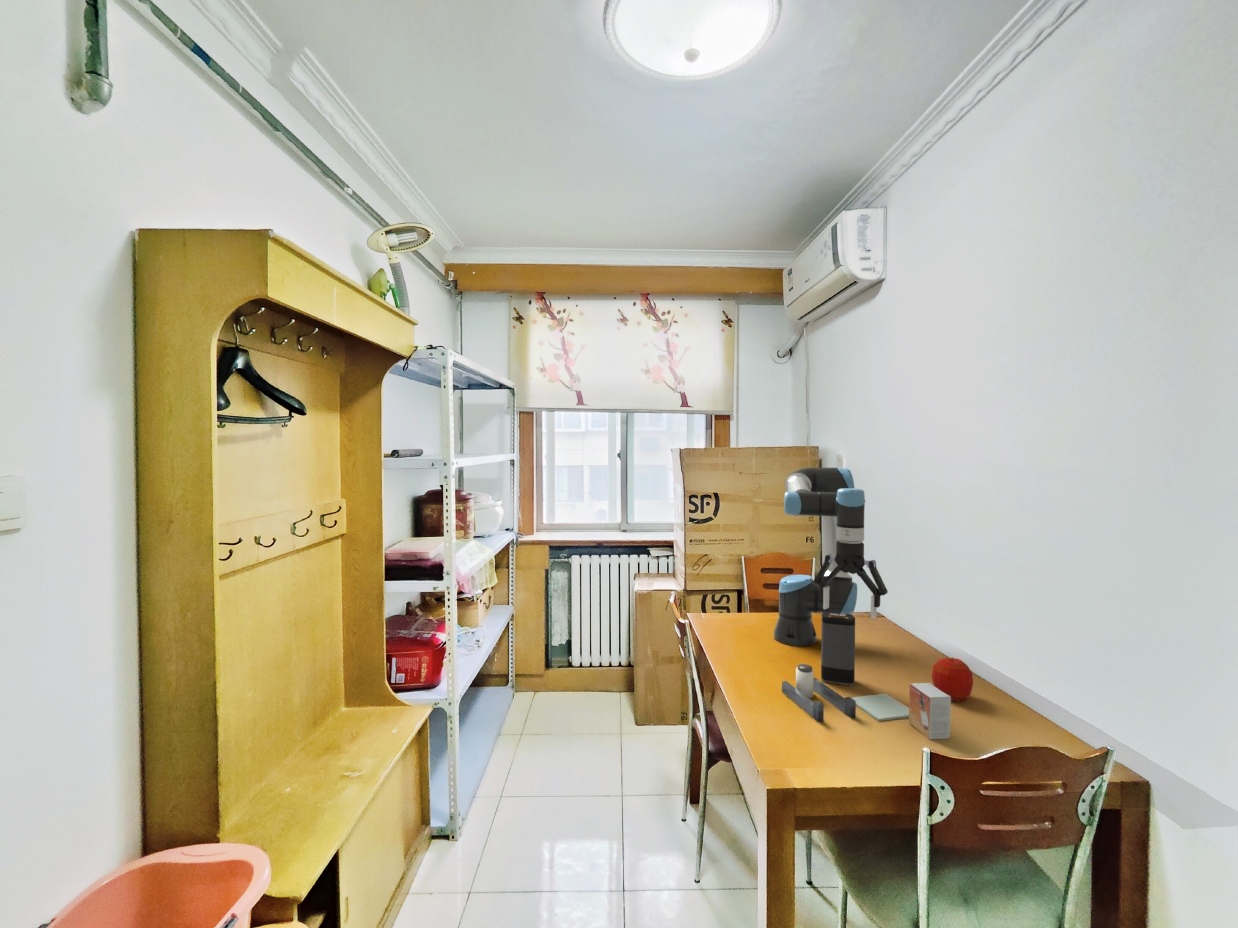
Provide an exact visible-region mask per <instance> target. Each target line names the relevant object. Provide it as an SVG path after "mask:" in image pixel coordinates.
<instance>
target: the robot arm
mask: <svg viewBox="0 0 1238 928" xmlns="http://www.w3.org/2000/svg"><path fill="white" fill-rule="evenodd" d="M784 490H785V493H784V494H783V495H784V496H783V512H784V514H785V515H787V516H796V517H797V516H806V517H807V516H811V517H812V516H813V517H821V549H822V550H821V553H822V556H821V558H822V560H821V561H822V562H821V564H822V566H821V567H820V570H819V571H818V573H817V575H816V577H815V578H814V579H813V576H811V575H808V574H791V575H786V576H784V577H782V578H781V579H780V580H779V586H778V587H779V588H778V594H779V596H778V597H779V598H778V619H777V621H776V624H775V627H774V630H773V638H774V639H775V640H776V641H777V642H779V643H783V644H786V645H790V646H797V647H807V646H812V645H815V644H816V643H817V642H818V635H817V631H816V629H815V624H814V622H813V613H814V614H822V613H823V612H830V615H839V616H845V614H851V615H853V614H854V611H855V610H856V605H857V599H858V584H857V582H855V581H853V577H852V575H855V574H856V575H857V576H858V577H860V579H861V580H862V581H863V583H864V584H865V585H866V587H867V588H868V589H869V591H870V592H871V593H872V594H871V595H870V619H871V620H874V619H876V618H877V613H878V612H877V611H878V610H877V608H880V606H881V596H885V595H887V594H888V592H889V590H888V589H887V588H886V587H887V586H886V584H885V583H884V581H883V579H882V576H881V575H880V572H879V571H878V569H877V563H876V562H877V561H876V560H875V559H872V560H866V559H865V544H864V541H865V508H866V507H865V503H866V497H865V496H866V495H865V491H864V490H863V489H860V488H855V482H854V477H853V474H852V472H851V470H850V469H849V468H844V467H837V466H836V467H804V468H799V469H797V470H795V471H793V472H791V473H790V474H788V475H787V476H786V478H785V480H784ZM864 566H866V567H867V568H868V570H869V572H870V574H871V576H872V578H873V580H872V579H871V577H870V575H868V574H867V572H866V570H865V569H864ZM850 574H851V575H850Z"/></svg>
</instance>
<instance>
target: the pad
mask: <svg viewBox="0 0 1238 928" xmlns="http://www.w3.org/2000/svg"><path fill="white" fill-rule="evenodd" d="M851 698H852V699H854V700H855V701H856V707H858V708H859V709H861V711H863V712H865V714H867V715H869V716H870V717H872V718H873V719H875V720H876V721H878V722H882V721H884V722H885V721H889V720H896V719H897V720H899V719H905V718H909V706H906V705H904V704H903V703H902V702H899V701H898V700H896V699H895V698H893V697H892V696H890V695H888V694H887V693H879V694H870V695H863V696H856V697H855V696H854V697H851Z"/></svg>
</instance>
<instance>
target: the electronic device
mask: <svg viewBox="0 0 1238 928" xmlns="http://www.w3.org/2000/svg"><path fill="white" fill-rule="evenodd" d="M820 632H821V640H820V641H821V643H820V645H821V646H820V647H821V649H820V652H821V654H820V656H821V658H820V676H821V677H820V679H821V681H822V682H824V683H827V684H828V683H829V684H837V685H843V686H844V685H845V686H854V685H855V672H856V671H855V668H856V667H855V665H856V664H855V661H856V618H855V616H854V615H853V614H845V615H836V614H830V612H823V613H821V630H820Z"/></svg>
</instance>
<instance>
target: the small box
mask: <svg viewBox="0 0 1238 928" xmlns="http://www.w3.org/2000/svg"><path fill="white" fill-rule="evenodd" d="M908 702H909V704H908V708H909V717H908V723H909V724H910V725H911V726H912V727H914V728H915V729H916V730H917V731H918V732H920V733H921V734H922V735H923V736H924V737H926V739H928V740H943V739H946V740H947V739H950V738H951V712H952V711H951V710H952V709H951V708H952V700H951V697H950V696H949V695H947V694H945V693H944V692H942V691H941V690H939V689H938V688H936V687H935V686H934V685H933V683H930V682H922V683H921V682H919V683H915V682H914V683H909V701H908Z"/></svg>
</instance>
